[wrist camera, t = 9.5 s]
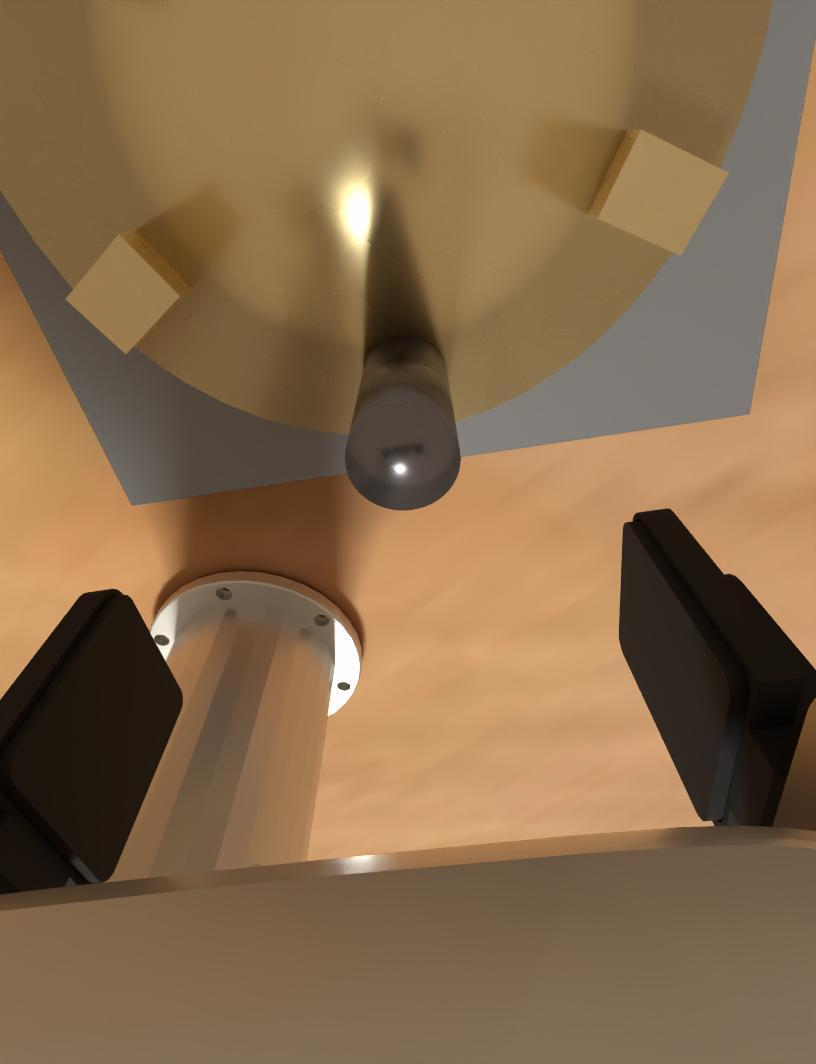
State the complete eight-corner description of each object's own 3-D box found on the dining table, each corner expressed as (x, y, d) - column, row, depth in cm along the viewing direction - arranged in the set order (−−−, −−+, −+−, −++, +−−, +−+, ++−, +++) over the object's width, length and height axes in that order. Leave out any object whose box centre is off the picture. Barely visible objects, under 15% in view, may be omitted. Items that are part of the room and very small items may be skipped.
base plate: (727, 397, 26) (753, 417, 24) (148, 485, 29) (129, 508, 27) (943, -1043, 10) (1062, -1309, 9) (-354, -557, 13) (-484, -677, 11)
